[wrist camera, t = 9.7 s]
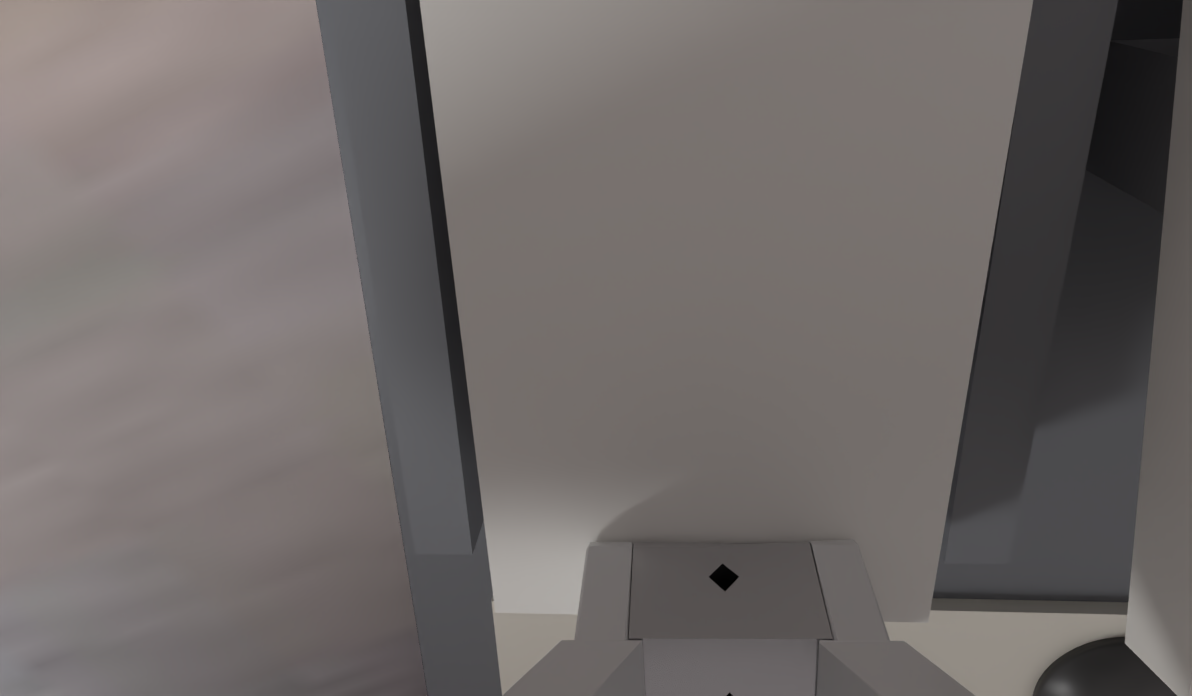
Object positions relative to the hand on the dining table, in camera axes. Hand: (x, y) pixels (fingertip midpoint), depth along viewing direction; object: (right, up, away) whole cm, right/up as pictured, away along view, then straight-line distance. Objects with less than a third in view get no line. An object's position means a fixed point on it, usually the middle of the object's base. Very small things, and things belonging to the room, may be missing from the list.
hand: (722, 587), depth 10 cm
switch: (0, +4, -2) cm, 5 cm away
